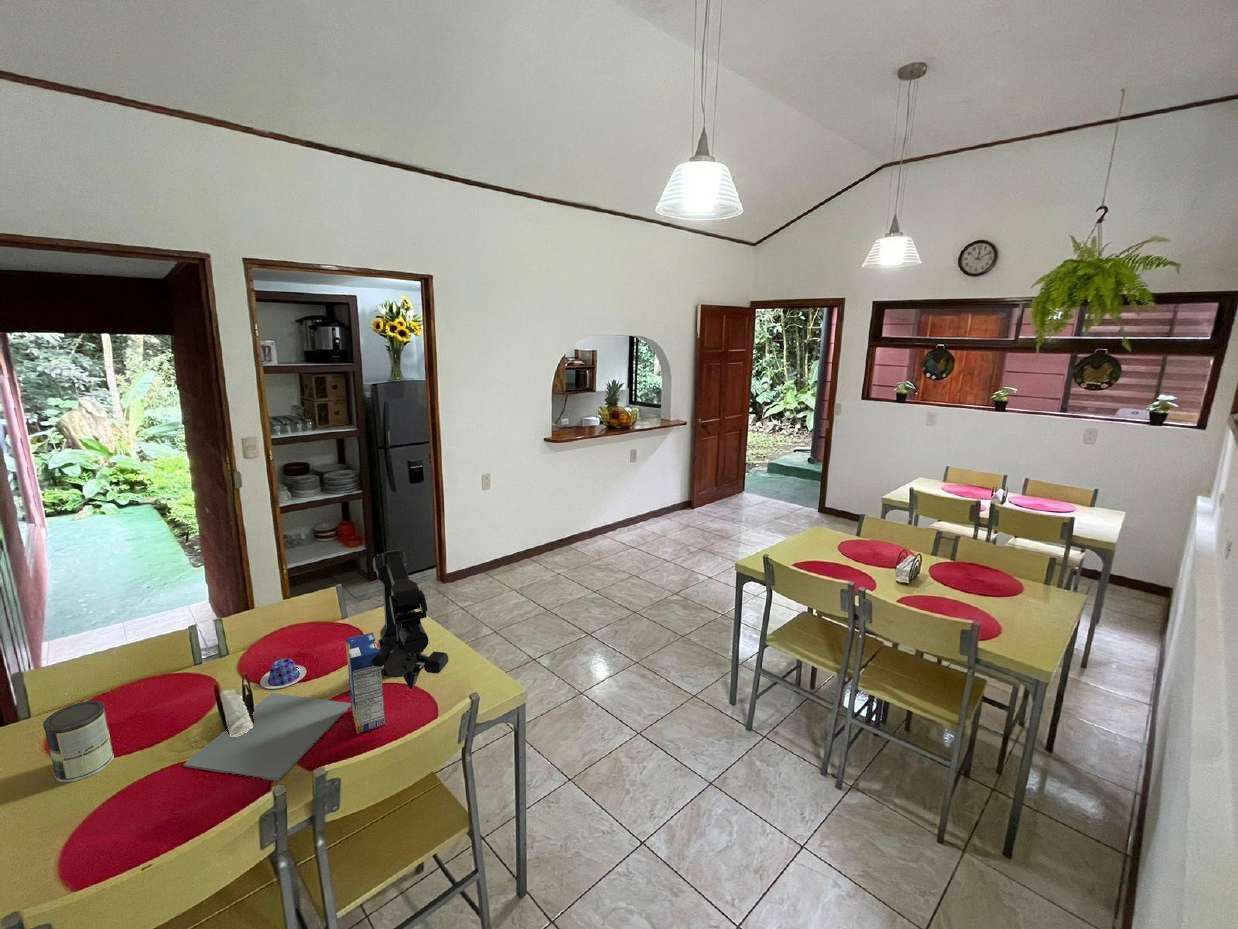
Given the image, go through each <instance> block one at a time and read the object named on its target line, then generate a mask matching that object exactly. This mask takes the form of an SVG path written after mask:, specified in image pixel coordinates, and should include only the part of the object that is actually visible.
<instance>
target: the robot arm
mask: <svg viewBox="0 0 1238 929" xmlns="http://www.w3.org/2000/svg"><path fill="white" fill-rule="evenodd" d="M372 565H373V571H374V572H376V575H377V578H378V580H379V581H380V582H381V583H382V595H383V610H384V611H383V612H384V624H383V626H382V628H381V630H380V631H379V638H380V639H378V640H377V645H378V648H379V650H380V655H378V656H377V657H375V658H374V659H373V666H377V667H381V668H382V667H383V668H382V669H381V674H382V675H384V676H389V677H393V676H394V677H398V678H403V679H404V681H405V683H406V684H407V686H408V688H409V689H411V690H412V689H414V688H415V686H416V684H417V680H418V678H419V675H420V672H422V670H424V671H425V672H426V673H428V674H435V675H436V674H440V673H441V672H442V671H443V669H444V668H445V666H446V665H447V664H448V663H449V655H448V653H446V652H443V651H442V652H441V651H433V652H431V654H430V655H429V656H428V654H427V653H423V652H424V651H425V649H426V648H427V647H428V645H429V637H428V634H427V632H426V630H425V629H424V628H425V627H424V626H423V624H422V622H421V620H422V619H426V618H427V612H428V610H429V609H428V605H427V601H426V596H425V593H423V591H422V589H420V588H419V586H418V584H417V582H415V581H413V580H411V579H410V576H409V574H408V571H407V568H406V566H407V557H406V551H402V549H394V550H387V551H384V552H383V553H379V554H376V556H374V557H373V559H372Z"/></svg>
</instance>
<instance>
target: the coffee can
mask: <svg viewBox="0 0 1238 929" xmlns="http://www.w3.org/2000/svg"><path fill="white" fill-rule="evenodd" d="M42 727H43V731H44V733H45V736H46V740H47V745H48V749H49V753H50V759H51V761H52V765H53V767H52V768H53V771H54V776H55V780H56V781H57V782H60V783H74V782H77V781H78V782H79V781H81V780H84V779H87V778H89V777H92V776H93V775H96V774H98V773H100V772H101V771H102V770H104V769H105V768H107V767H108V766H109V765H110V764H111V763H112V761H113V760H114V758H115V753H114V751H113V746H112V740H111V736H110V730H109V726H108V721H107V717H106V711H105V704H104V703H103V702H102V701H101V700H84V701H81V702H77V703H73V704H70V705H67V706H65V707H63V708H61V709H59V710H57V711H55V712H53V713H52V714H51V715H49V716H48V717H47V718H45V720H44V721H43V723H42Z"/></svg>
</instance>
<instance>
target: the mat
mask: <svg viewBox="0 0 1238 929" xmlns="http://www.w3.org/2000/svg"><path fill="white" fill-rule="evenodd" d="M253 708H254V712H253V714H252V715H253V719H254V726H253V728H252V729H250V730H249V731H248V732H247V733H244V734H243V735H241V736H238V737H230V736H229V734H228V732H227V731H226V730H227V729H225V730H224V731H223V732H222V733H220V734H219V735H218V736H216V737H215V738H214V739H213V740H212V741H210V742H209V743H208V744H207V745H205V746H204V747H203V748H202V749H201V750H199V751H198V752H197V753H196V754H194V755H193V756H192V757H191V758H190V759H188V760H187V761H185V763H183V767H185V768H191V769H196V770H204V771H211V772H215V773H224V774H228V773H232V774H231V775H235V774H241V775H246V776H245V777H247V775H248V776H253V777H252V778H254V777H260V778H262V779H261V780H267V781H273V782H275V781H276V782H280V780H281V779H282V778H283V777H284V776H285V775H286V773H288V772H289V771H290V770H291V768H293V767H294V766H295V764H297V763H298V761H300V759H302V757H303V756H304V755H305V754H307V752H308V751H309V750H310V749H311V748H312V747H313V746H314V745H315V744H316V743H317V742H318V741H319V740H320V739H319V738H320V737H321V736H322V735H323V734H324V733H325V732H326V733H327V732H328V731H329V729H331V727H332V726H334V724H336V723H337V721H338V720H339V719H341V717H342V716H343V715H344V714H345V713H346V712H348V710H349V709H350V708H352V706H351V702H345V701H335V700H330V699H329V700H328V699H321V698H313V697H306V696H296V695H291V694H290V695H289V694H282V693H277V692H275V693H274V692H271V693H269V695H267V696H266V697H264V698H263V699H262V700H260V702H258V704H256V705H255V706H253ZM348 708H349V709H348ZM344 712H345V713H344ZM324 735H325V734H324ZM324 735H323V736H324ZM323 736H322V737H323ZM322 737H321V738H322ZM318 739H319V740H318ZM317 740H318V741H317ZM316 741H317V742H316ZM314 743H315V744H314ZM241 775H240V776H241ZM260 778H259V779H260Z"/></svg>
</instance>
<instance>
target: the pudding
mask: <svg viewBox="0 0 1238 929" xmlns="http://www.w3.org/2000/svg"><path fill="white" fill-rule="evenodd" d="M296 667H298V668H299V669H298V668H296ZM298 671H299V672H298ZM306 674H307V669H306V667H304V666H303V665H300V664H299V665H298V664H296V663H295V661H294V660H293V659H292V658H281V659H278V660H276V661H274V662H273V663H271V665H270V668H269V671H268V672H267V673H265V674H264V675H263V676H262V677H261V679H260V681H259V684H260V686H261V687H263V688H266V689H282V688H287V687H288V686H291V685H293V684H296V683H298V682H299V681H300V680H302V679H303V678H304V677H305V676H306ZM297 677H298V678H297Z"/></svg>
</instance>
